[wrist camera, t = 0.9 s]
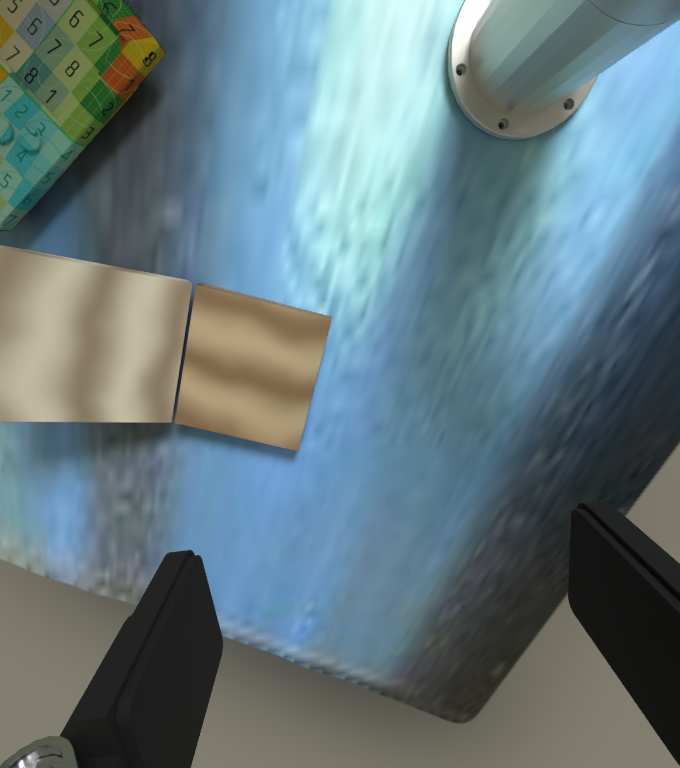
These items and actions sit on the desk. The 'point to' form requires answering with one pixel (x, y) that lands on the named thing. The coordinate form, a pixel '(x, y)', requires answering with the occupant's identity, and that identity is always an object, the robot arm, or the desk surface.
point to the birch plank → (87, 340)
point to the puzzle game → (61, 87)
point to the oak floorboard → (250, 367)
